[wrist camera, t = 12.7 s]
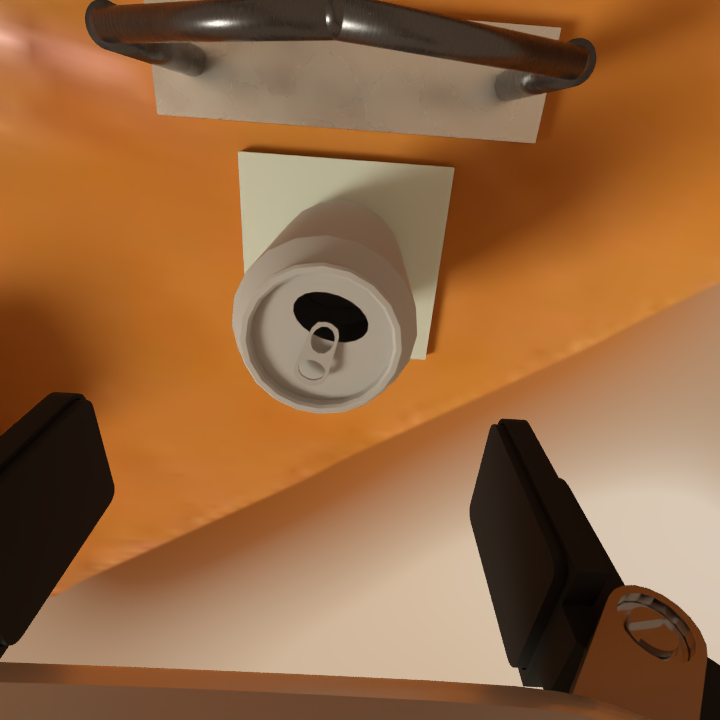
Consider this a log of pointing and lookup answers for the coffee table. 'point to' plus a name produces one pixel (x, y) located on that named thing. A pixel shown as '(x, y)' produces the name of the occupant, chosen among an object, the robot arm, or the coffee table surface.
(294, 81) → the plate with bar handle
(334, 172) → the pad
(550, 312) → the coffee table surface
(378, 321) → the can
